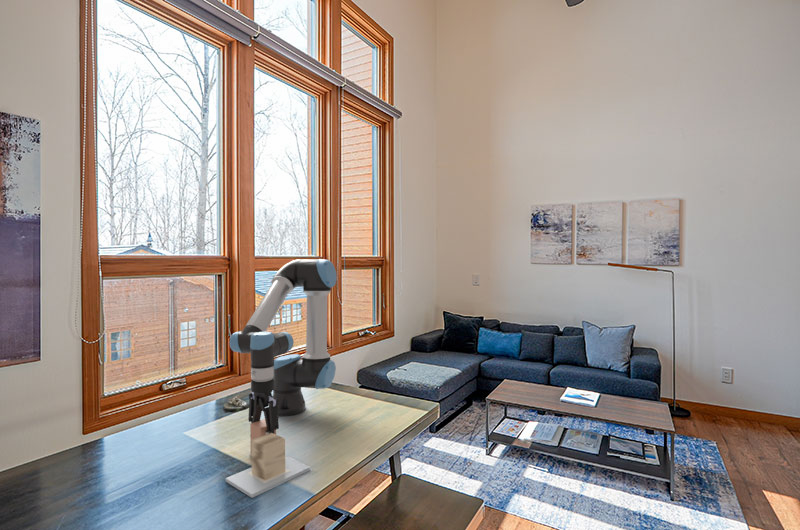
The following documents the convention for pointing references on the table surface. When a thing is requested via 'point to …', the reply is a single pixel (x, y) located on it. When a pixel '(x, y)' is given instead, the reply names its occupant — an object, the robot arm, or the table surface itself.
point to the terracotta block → (258, 429)
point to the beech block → (268, 455)
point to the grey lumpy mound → (235, 405)
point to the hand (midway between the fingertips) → (263, 446)
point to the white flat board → (257, 485)
